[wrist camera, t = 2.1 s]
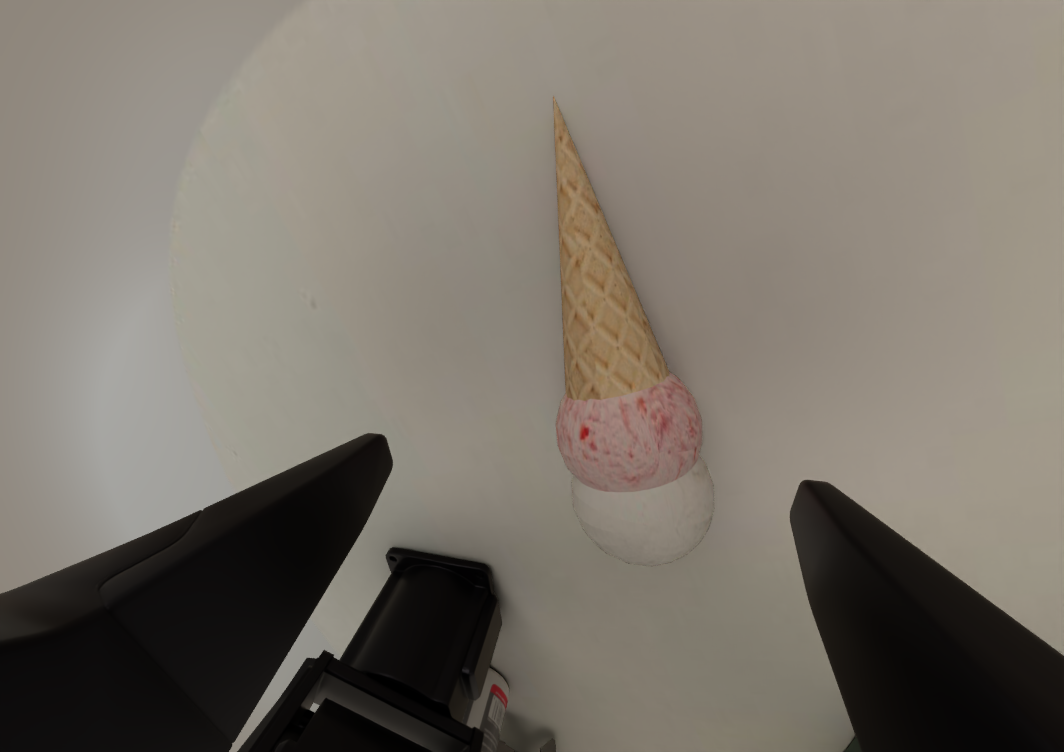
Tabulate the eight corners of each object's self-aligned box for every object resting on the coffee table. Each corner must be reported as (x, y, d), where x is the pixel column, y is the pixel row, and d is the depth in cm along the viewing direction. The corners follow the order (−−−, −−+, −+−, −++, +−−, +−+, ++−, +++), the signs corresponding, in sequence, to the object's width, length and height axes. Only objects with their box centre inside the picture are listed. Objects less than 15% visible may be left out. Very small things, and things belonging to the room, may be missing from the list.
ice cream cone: (472, 146, 13) (573, 534, 16) (473, 57, 9) (614, 622, 11) (603, 118, 14) (679, 499, 17) (670, 19, 9) (759, 570, 12)
